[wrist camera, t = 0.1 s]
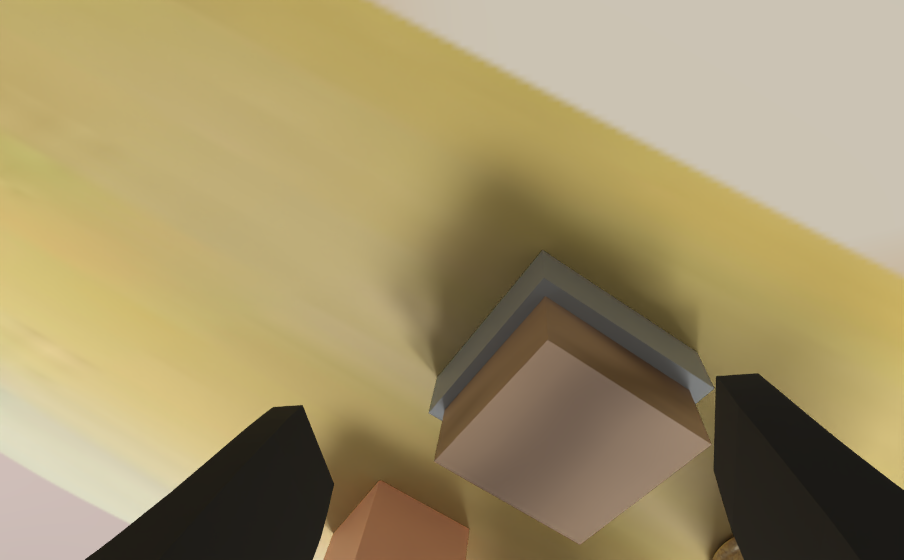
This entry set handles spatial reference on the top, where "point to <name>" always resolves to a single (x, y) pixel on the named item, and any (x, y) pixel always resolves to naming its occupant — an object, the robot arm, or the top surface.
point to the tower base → (585, 304)
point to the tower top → (569, 425)
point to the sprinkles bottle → (728, 551)
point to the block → (397, 530)
